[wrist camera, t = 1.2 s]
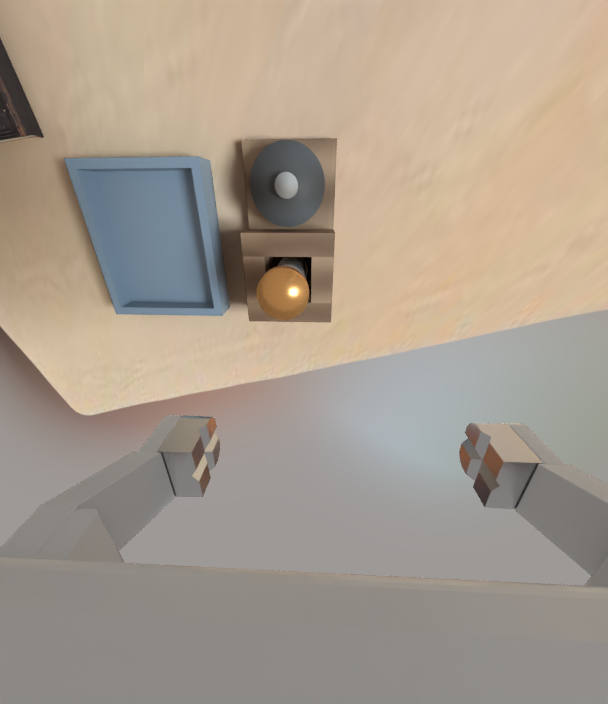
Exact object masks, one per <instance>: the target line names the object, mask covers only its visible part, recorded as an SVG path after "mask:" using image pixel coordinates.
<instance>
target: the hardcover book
mask: <svg viewBox="0 0 608 704" xmlns="http://www.w3.org/2000/svg"><path fill="white" fill-rule="evenodd" d="M35 136H39V137H44V136H43V134H42V131H41V129H40V127H39V125H38V122H37V120H36V118H35V116H34V113H33V111H32V109H31V107H30V104H29V102H28V100H27V97H26V95H25V93H24V91H23V88H22V86H21V84H20V82H19V79H18V77H17V75H16V72H15V70H14V68H13V66H12V63H11V61H10V59H9V57H8V54H7V52H6V50H5V47H4V45H3V43H2V41H1V38H0V142H6V141H12V140H17V139H23V138H29V137H35Z"/></svg>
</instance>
